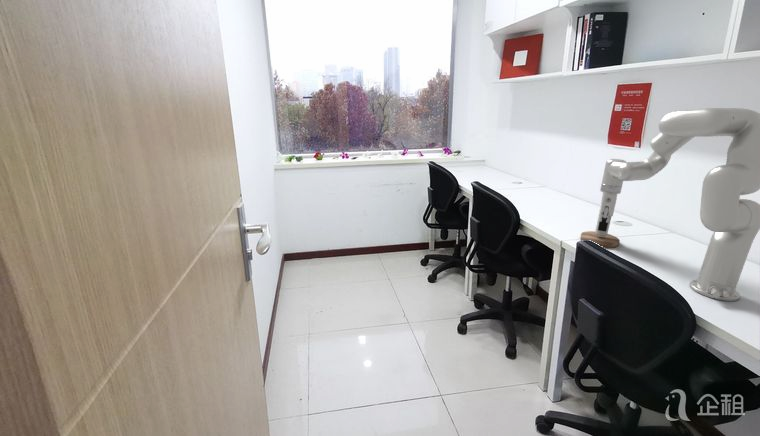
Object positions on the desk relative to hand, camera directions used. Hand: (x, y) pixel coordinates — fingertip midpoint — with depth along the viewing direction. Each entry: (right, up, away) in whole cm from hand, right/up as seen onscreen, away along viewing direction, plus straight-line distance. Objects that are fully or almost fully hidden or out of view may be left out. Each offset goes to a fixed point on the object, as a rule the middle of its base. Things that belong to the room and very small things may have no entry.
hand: (602, 228), depth 163 cm
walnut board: (0, -6, +2) cm, 6 cm away
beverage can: (0, -3, +1) cm, 3 cm away
